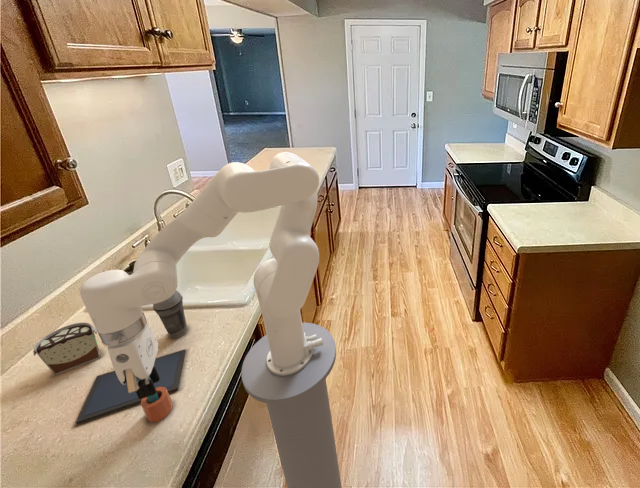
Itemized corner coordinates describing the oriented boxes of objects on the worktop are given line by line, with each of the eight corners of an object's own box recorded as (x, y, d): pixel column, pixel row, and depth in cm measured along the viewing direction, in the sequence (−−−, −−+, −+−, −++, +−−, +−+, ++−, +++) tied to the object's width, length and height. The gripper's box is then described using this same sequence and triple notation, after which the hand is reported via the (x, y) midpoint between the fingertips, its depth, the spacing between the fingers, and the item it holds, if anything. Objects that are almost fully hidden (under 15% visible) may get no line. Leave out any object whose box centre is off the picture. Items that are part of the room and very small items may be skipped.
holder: (174, 397, 81) (168, 383, 79) (170, 416, 77) (164, 401, 75) (150, 406, 79) (143, 391, 77) (145, 426, 75) (138, 411, 73)
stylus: (163, 405, 79) (147, 366, 74) (162, 412, 77) (145, 372, 72) (154, 408, 78) (137, 369, 73) (152, 415, 76) (135, 375, 72)
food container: (109, 340, 98) (97, 314, 94) (107, 354, 93) (94, 327, 89) (52, 361, 91) (37, 334, 88) (47, 378, 87) (30, 349, 83)
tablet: (185, 351, 94) (185, 348, 93) (178, 390, 83) (177, 387, 82) (98, 378, 86) (96, 375, 86) (76, 424, 75) (75, 422, 75)
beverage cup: (183, 320, 105) (165, 268, 97) (197, 327, 102) (180, 274, 94) (159, 337, 99) (138, 282, 91) (174, 345, 96) (153, 289, 88)
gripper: (134, 349, 63) (162, 414, 69) (154, 297, 76) (175, 355, 83) (84, 364, 60) (118, 430, 67) (114, 307, 74) (139, 366, 80)
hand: (149, 388), depth 75 cm, fingers closed
